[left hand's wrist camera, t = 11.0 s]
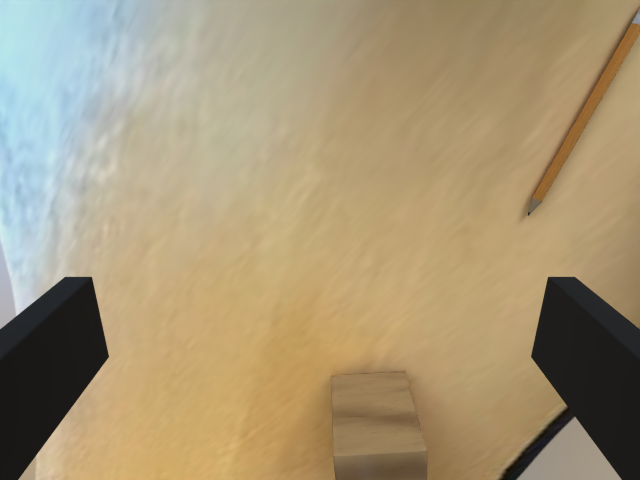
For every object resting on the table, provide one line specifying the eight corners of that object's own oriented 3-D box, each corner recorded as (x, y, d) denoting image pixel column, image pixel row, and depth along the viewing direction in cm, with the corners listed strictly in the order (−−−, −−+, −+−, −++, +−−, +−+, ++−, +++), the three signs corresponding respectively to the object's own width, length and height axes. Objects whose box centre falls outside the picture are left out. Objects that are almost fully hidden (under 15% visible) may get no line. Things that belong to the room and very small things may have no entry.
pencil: (643, -4, 34) (520, 212, 40) (656, -3, 33) (529, 217, 40) (647, 1, 34) (525, 214, 41) (661, 2, 34) (535, 219, 40)
